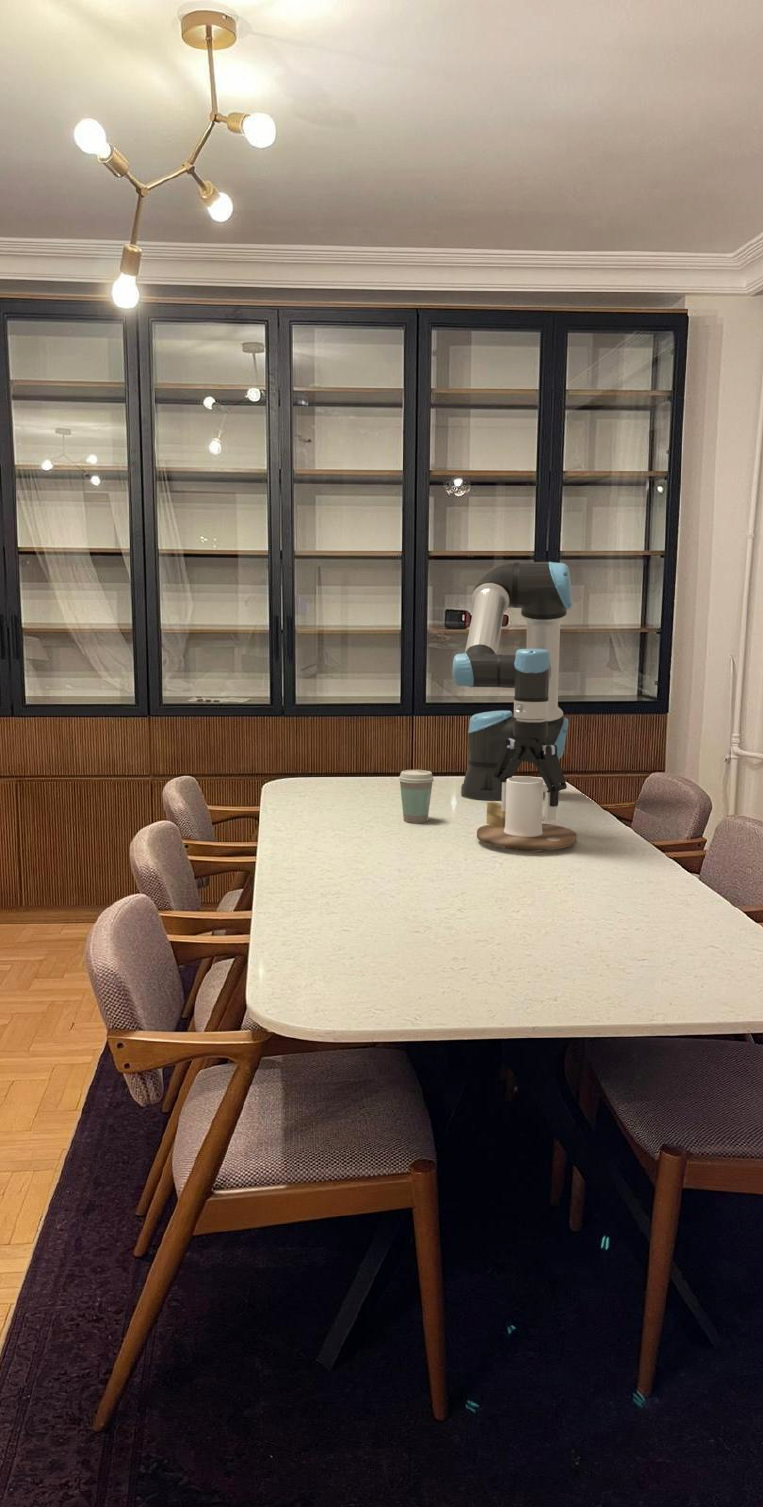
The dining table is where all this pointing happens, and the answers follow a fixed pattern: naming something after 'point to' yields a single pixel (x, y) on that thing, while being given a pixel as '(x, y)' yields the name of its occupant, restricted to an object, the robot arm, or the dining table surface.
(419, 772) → the coffee cup
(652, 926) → the dining table surface
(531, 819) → the mug
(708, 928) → the dining table surface
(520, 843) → the turntable
